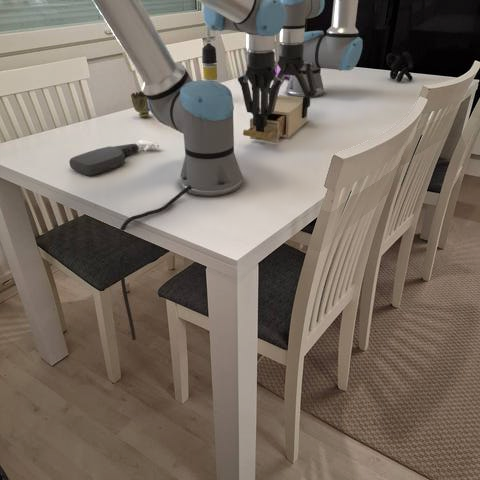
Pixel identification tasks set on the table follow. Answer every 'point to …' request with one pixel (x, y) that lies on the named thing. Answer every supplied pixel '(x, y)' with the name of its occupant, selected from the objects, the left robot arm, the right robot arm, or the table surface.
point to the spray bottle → (106, 157)
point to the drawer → (268, 129)
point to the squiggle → (399, 66)
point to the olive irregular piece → (140, 104)
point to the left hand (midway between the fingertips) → (259, 137)
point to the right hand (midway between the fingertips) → (288, 115)
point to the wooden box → (290, 113)
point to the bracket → (279, 71)
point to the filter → (209, 60)
